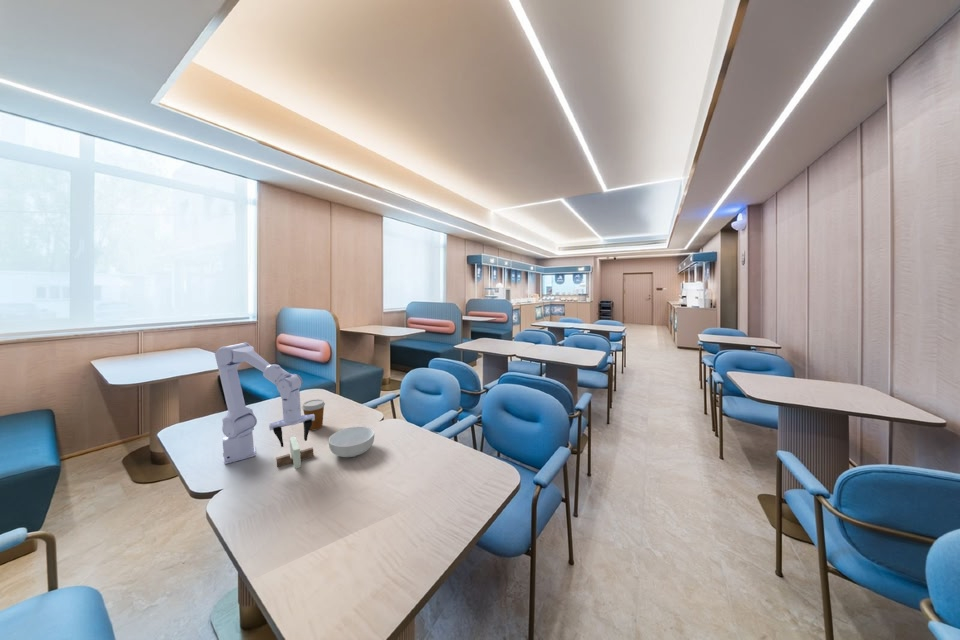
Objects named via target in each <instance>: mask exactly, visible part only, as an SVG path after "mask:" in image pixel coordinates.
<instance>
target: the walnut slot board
mask: <svg viewBox="0 0 960 640" xmlns="http://www.w3.org/2000/svg"><path fill="white" fill-rule="evenodd" d="M314 455H315V454H314V448H313V447H308V448H305V449H302V450H301V449H300V458H301V461H303V460H305V459H309V458H312V457H314ZM275 460H276V467H278V468H279V467H282V466H286V465H289V464H293V458H292V457H291V453H287V454H284V455H280V456H276V459H275Z"/></svg>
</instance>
